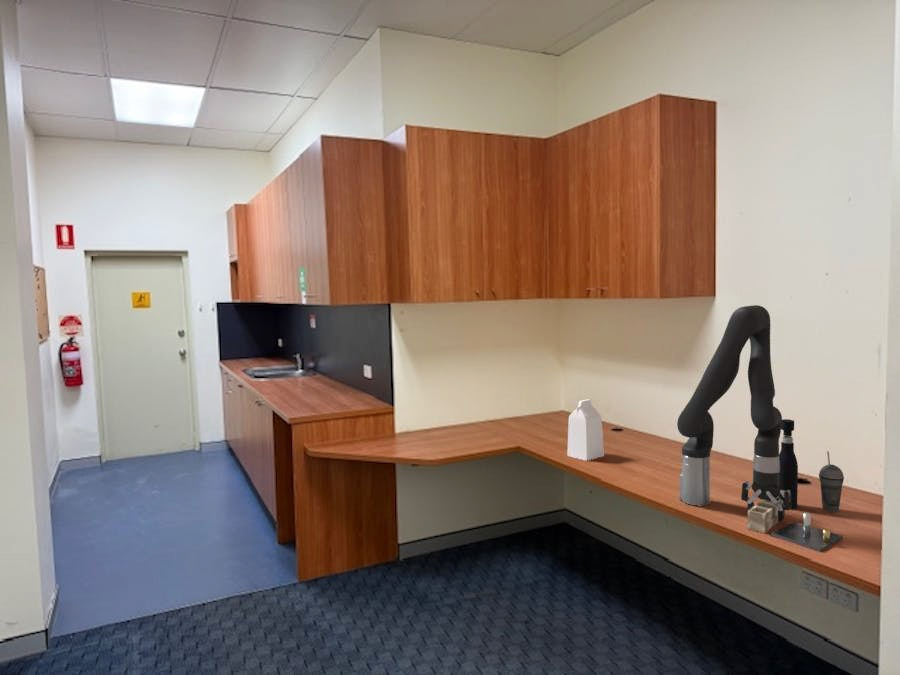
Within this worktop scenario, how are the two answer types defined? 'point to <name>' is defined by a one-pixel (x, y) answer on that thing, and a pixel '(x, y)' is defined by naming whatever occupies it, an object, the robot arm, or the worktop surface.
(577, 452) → the milk
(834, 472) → the grey tapered rounded cylinder
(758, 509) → the bar
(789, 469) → the wine bottle
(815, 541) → the mounting plate
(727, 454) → the worktop surface
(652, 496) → the worktop surface
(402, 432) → the worktop surface
